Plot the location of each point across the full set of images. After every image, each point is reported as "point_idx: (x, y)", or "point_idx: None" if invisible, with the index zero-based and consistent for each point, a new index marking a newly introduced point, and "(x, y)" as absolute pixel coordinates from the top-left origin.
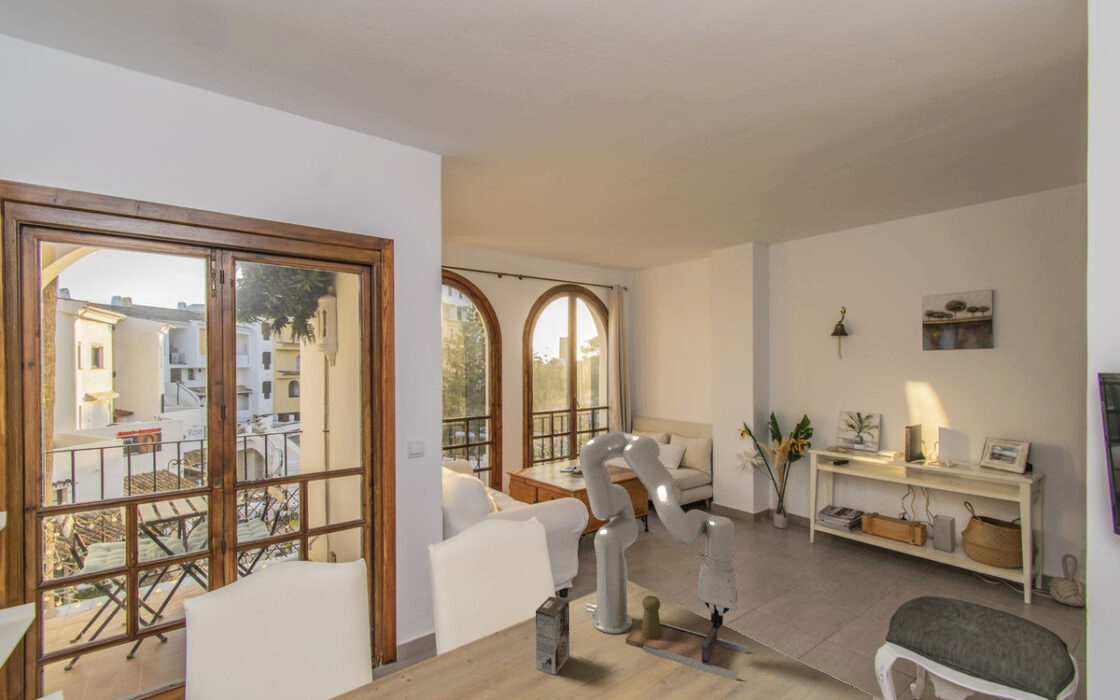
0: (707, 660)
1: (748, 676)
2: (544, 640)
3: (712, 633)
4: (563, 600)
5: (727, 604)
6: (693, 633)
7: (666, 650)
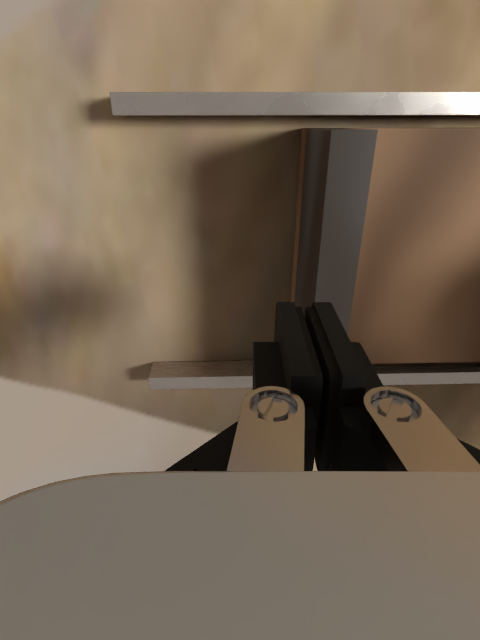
0: (309, 131)
1: (79, 175)
2: None
3: None
4: None
5: (73, 558)
6: (414, 371)
7: None
